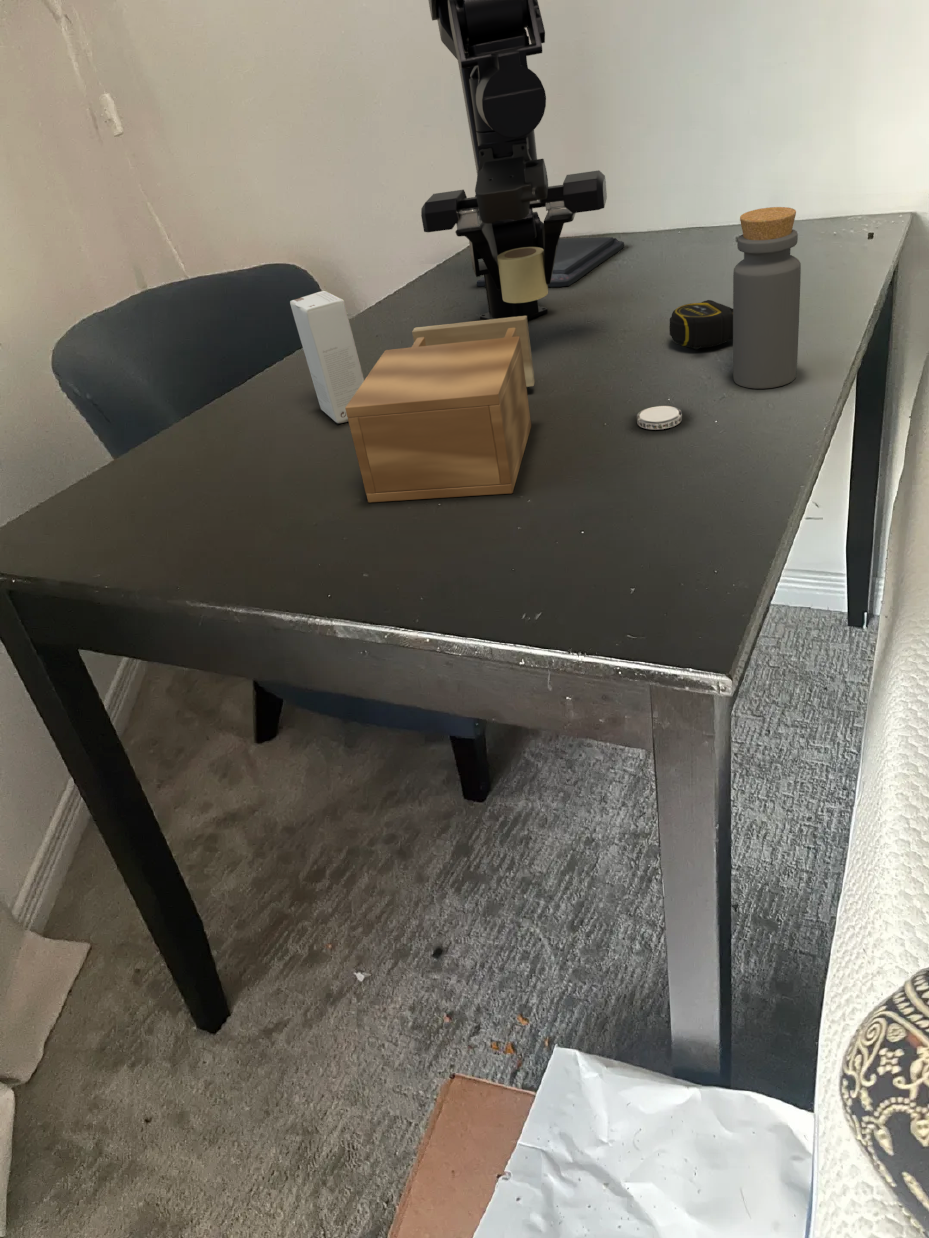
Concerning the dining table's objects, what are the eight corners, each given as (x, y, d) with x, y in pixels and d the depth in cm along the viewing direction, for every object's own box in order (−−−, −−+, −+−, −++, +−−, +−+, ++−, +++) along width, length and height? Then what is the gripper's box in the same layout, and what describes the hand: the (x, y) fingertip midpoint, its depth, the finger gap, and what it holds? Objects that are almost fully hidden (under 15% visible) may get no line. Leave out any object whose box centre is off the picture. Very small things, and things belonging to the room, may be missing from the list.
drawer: (433, 378, 103) (422, 315, 99) (539, 368, 100) (531, 303, 96) (399, 442, 89) (384, 372, 86) (519, 432, 87) (509, 360, 83)
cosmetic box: (374, 413, 99) (348, 298, 93) (335, 426, 98) (305, 310, 91) (354, 398, 104) (328, 287, 97) (316, 410, 103) (287, 299, 96)
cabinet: (403, 437, 93) (385, 350, 88) (531, 426, 90) (520, 336, 85) (367, 503, 82) (344, 407, 77) (512, 493, 79) (498, 394, 74)
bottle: (725, 373, 93) (724, 213, 85) (783, 362, 93) (788, 201, 85) (744, 393, 88) (745, 226, 80) (806, 382, 88) (814, 213, 80)
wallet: (565, 273, 126) (471, 273, 134) (566, 288, 127) (473, 287, 135) (629, 232, 139) (539, 234, 147) (630, 246, 140) (541, 247, 148)
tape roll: (493, 299, 103) (487, 256, 101) (529, 286, 105) (524, 244, 103) (521, 306, 99) (515, 261, 97) (557, 292, 102) (553, 248, 99)
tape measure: (748, 343, 99) (749, 308, 97) (690, 359, 98) (689, 324, 96) (714, 328, 104) (714, 294, 102) (659, 343, 103) (657, 309, 101)
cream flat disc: (634, 430, 85) (634, 423, 85) (640, 412, 88) (639, 406, 88) (679, 428, 84) (679, 421, 83) (683, 410, 87) (683, 404, 87)
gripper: (396, 154, 89) (425, 319, 97) (594, 124, 85) (607, 299, 93) (420, 136, 98) (446, 288, 106) (601, 107, 94) (612, 268, 102)
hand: (524, 286), depth 102 cm, fingers closed on tape roll, 5 cm apart
